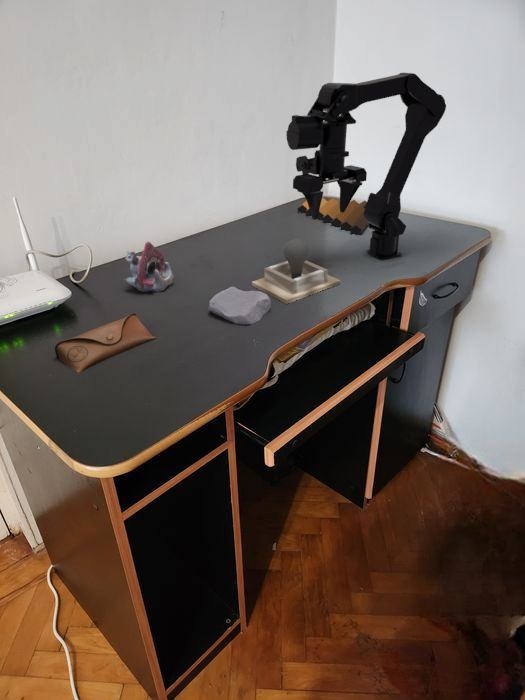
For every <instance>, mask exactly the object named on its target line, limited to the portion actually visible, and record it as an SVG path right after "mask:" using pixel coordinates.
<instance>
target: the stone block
mask: <svg viewBox="0 0 525 700" xmlns="http://www.w3.org/2000/svg"><path fill="white" fill-rule="evenodd" d="M271 302H272V301H271V299H270V297H269V295H268V294H266V293H265V292H263V291H261V290H259V291H258V290H247V291H244V290H241V289H238V288H237V287H235V286H230V287H228V288H227V289H224V290H221V291H220V292H218V293H216V294H215V295H213V297H212V298H211V299H210V300H209V302H208V304H209V305H208V310H209V311H210V312H211V313H213V314H215V315H217V316H219V317H221V318H223V319H224V320H227V321H228V322H232V323H234V324H236V325H246V326H247V325H249V324H250V325H253V323H254V324H255V323H257V322H259V321H261V319H262V318H263V317H264V315H266V314H267V313H268V312H269V311H270V310H271Z"/></svg>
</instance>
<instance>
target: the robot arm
mask: <svg viewBox="0 0 525 700" xmlns="http://www.w3.org/2000/svg"><path fill="white" fill-rule="evenodd" d="M396 96H399V97H400V100H401V102H402V103H403V104H404V105H405V106H406V108H407V109H406V111H405V115H404V117H405V118H404V119H405V130H404V133H403V136H402V138H401V140H400V143H399V145H398V148H397V151H396V153H395V155H394V158H393V159H392V163H391V164H390V167H389V169H388V172H387V174H386V176H385V179H384V182H383V184H382V186H381V188H380V189H379V190H378V191H377V192H376V193H373V192H370V193H369V195H368V196H367V197H368V198H367V201H366V202H367V203H366V205H365V206H364V207H363V208H365V211H364V217H365V220H366V221H367V222H368V225H367V227H368V228H369V229H372V232H371V237H370V239H369V241H370V243H369V249H368V250H366V251H367V253H368V254H370V255H371V256H373V257H375V258H377V259H378V260H380V261H381V260H386V259H391V258H395V257H400V256H402V253H401V252H400V251H399V239H400V236H401V235H404V234H405V231H406V228H407V226H406V224H405V223H404V222H403V221H402V220H401V219H400V218H399V216H400V212H401V208H402V206H401V205H402V204H401V194H402V192H403V191H404V187H405V185H406V184H407V181H408V178H409V176H410V173H411V171H412V170H413V166H414V165H415V162H416V160H417V157H418V155H419V153H420V150H421V148H422V146H423V144H424V141H425V139H426V137H427V136H428V135H429V134H430V133H431V132H432V131H434V130H435V128H436V127H437V126H438V124H439V123H440V121H441V120H442V117H443V116H444V115H445V111H446V109H447V104H446V100H445V98H444V96H443V95H442V94H438V93H437V92H436V90H435V89H433V88H432V87H430V86H429V85H427V84H426V83H425V82H424V81H423V80H422V79H421V78H420V77H419V76H418V75H417V74H416V73H414V72H413V73H412V72H400V73H398V74H394V75H389V76H385V77H381V78H376V79H372V80H366V81H362V82H358V83H351V82H350V83H348V82H347V83H345V82H327V83H324V84H323V85H321V88H320V90H319V92H318V95H317V98H316V100H315V101H314V102H313V105H312V106H311V107H310V109H309V111H308V112H307V114H306V115H299V114H295V115H294V114H293V115H292V116H291V121H290V123H289V124H288V127H287V130H286V141H287V145H288V148H289V149H290V150H291V151H295V150H296V151H297V150H308V149H315V148H318V147H319V149H317V150H315V152H314V157H312V158H308V157H307V155H302V156H301V155H300V156H298V157H296V160H295V162H296V163H295V167H296V172H299V173H301V174H298V175H295V176H294V178H293V179H292V189H294V190H297V192H298V193H301V194H302V195H303V196H304V198H305V201H307V203H308V206H309V209H310V212H311V216H312V217H311V219H312V220H315V221H317V220H316V219H317V217H318V214H319V209H320V205H321V200H322V197H323V195H324V191H322V189H323V187H324V185H326V184H331V183H335V182H336V183H337V184H338V187H339V201H340V212H345V210H346V208H347V206H348V205H349V203H350V202H351V201H352V199H353V198H354V196H355V194H356V193H357V191H358V190H359V188H360V187H361V186H362V185H363V182H366V181H367V171H366V169H365V167H360V166H355V165H346V166H345V158H347V157H349V156H350V151H347V150H346V147H347V133H348V132H347V130H348V125H355V124H356V123H357V120H356V119H355V118H354V116H353V115H352V114H351V112H353V111H354V110H356V109H358V108H359V107H360V106H362V105H364V104H367V103H368V102H369V103H370V102H374V101H378V100H383V99H387V98H391V97H396Z"/></svg>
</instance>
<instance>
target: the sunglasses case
mask: <svg viewBox="0 0 525 700" xmlns="http://www.w3.org/2000/svg"><path fill="white" fill-rule="evenodd" d="M156 339H157V336H155V335H153V334H152V333H151V332H150V331H149V329H148V328H147V327H146V326H145V325H144V323H142V322H141V320H140V319H139V318H138V317H137V314H136V313H133V312H132V313H130V314H128V315H127V316H126V317H123V318H121V319H118V320H115V321H111V322H109V323H107V324H103V325H101V326H98V327H96V328H93V329H91V330H87V331H86V332H84V333H82V334H79V335H76V336H74V337H72V338H67V339H64V340H61V341H59V342H58V343H57V344H56V345H55V347H54V353H55V356H56V358H57V360H60V361H61V362H62V363H64V364H65V365H66V366H67V367H70V369H72V370H74V371H76V372H77V373H81V372H83V371H85V370H87V369H89V368H91V367H93V366H95V365H97V364H99V363H101V362H103V361H105V360H108V359H110V358H113V357H114V356H116V355H119V354H122V353H123V352H127V351H128V350H130V349H132V348H136V347H138V346H141V345H143V344H146V343H147V342H151V341H154V340H156Z"/></svg>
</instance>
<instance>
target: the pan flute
mask: <svg viewBox="0 0 525 700" xmlns="http://www.w3.org/2000/svg"><path fill="white" fill-rule="evenodd" d="M366 203H367V201H366V200H363V201H362V202H360V203H358V202H357V201H356V200H355V199H353V200H351V201H350V203H349V205H348V206H347V208H346V210H345V212H340V200H339V201H337V200H336V199H335V198H334V197H332V198H330V199H329V200H326V198H324V197H323V196H322V200H321V205H320V209H319V214H318V217H317V219H318V220H317V221H322V223H323V224H327V223H331V224H330V225H331V227H332V226H334V227H333V228H340V227H341V228H340V229H341V230H345V231H344V232H350V235H352V234H355V235H354V236H361V234H362V233H363V232H364V231H365V230H366V228H367V227H368V222H367V221H366V220H365V217H364V211H365V208H363V207H364V206H365V205H366ZM299 212H301V213H300V214H302V213H306V214H305V215H306V217H308V216H311V212H310V209H309V206H308V203H307V200H305V201H304V202H303V203H302V204H301V205H299V206H298V207H297V213H299ZM341 230H340V231H341ZM363 230H364V231H363Z"/></svg>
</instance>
